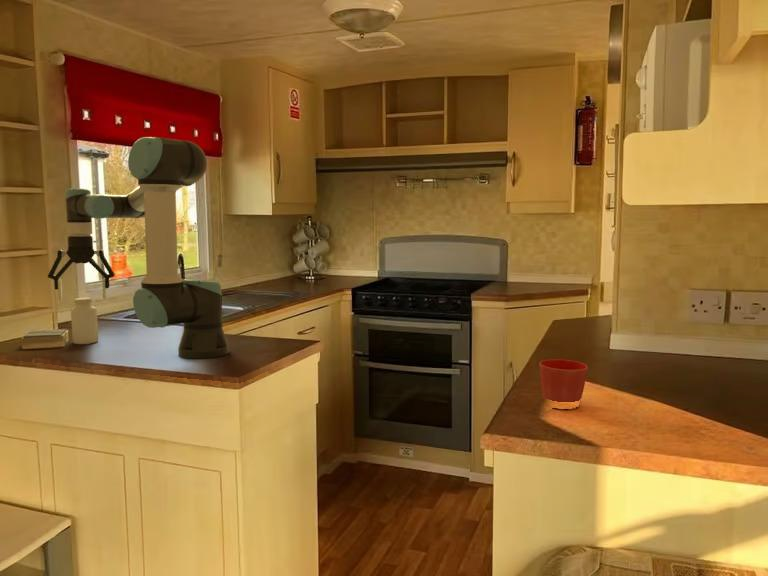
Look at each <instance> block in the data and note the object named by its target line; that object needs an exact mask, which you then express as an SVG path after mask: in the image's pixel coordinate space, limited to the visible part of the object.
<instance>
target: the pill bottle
mask: <svg viewBox="0 0 768 576" xmlns="http://www.w3.org/2000/svg"><path fill="white" fill-rule="evenodd" d="M73 300H74V302H73V303H74V306H73V307H72V308H71V310H70V317H71V319H70V321H71V335H72V336H71V337H72V343H73V344H74V345H89V344H94V343H97V342H98V341H99V328H98V327H99V325H98V311H97V307H96V306H94V305H92V304H93V303H92V301H93V300H92V297H78V298H75V299H73Z"/></svg>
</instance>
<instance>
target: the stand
mask: <svg viewBox="0 0 768 576" xmlns="http://www.w3.org/2000/svg"><path fill="white" fill-rule="evenodd" d="M69 332H70V331H69V329H67V328H57V329H55V328H54V329H39V330H38V329H37V330H36V329H35V330H32V329H31V330H29V332H27V333H26V334H25V335H23V336H22V337H21V350H29V349H44V348H45V349H48V348H49V349H50V348H62V347H65V345H66V344H67V343H68V341H69V340H70V339H69V338H70V337H69Z"/></svg>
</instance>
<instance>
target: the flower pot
mask: <svg viewBox="0 0 768 576" xmlns="http://www.w3.org/2000/svg"><path fill="white" fill-rule="evenodd" d="M538 365H539V375H540V383H541V392H542V395H543V397H544V398H546V399H549V400H552V401H557V402H575V401H579V400H580V399H581V400H582V397H583V394H584V389H585V384H586V380H587V376H588V371H589V367H588V365H587V364H586V363H584V362H580V361H577V360H569V359H561V358H560V359H559V358H558V359H555V358H554V359H545V360H541V361H540V362H539V364H538ZM544 398H543V399H544ZM572 410H573V411H574V410H575V409H568V410H567V411H572ZM560 411H565V410H564V409H560Z"/></svg>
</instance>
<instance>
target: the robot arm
mask: <svg viewBox="0 0 768 576" xmlns="http://www.w3.org/2000/svg"><path fill="white" fill-rule="evenodd" d="M127 162H128V163H127V166H128V170H129V173H130V174H131V176H132V177H133V178H135V179H137V186H138V187H136V188H135V189H134V190H132V191H131V192H129V193H127V194H126V195H125V194H122V195H121V194H101V193H99V194H98V193H96V194H95V193H94V194H92V193H91V190H90V189H89V188H70V187H69V188H67V189H66V190H65V200H64V201H65V209H66V229H67V230H66V231H67V232H66V233H67V235H69V236H68V237H67V247H68V249H67V250H62V249H59V250H57V255H56V256H57V257H56V259H54V262H53V264H52V267H51V269H50V271H49V272H48V274H47V278H48V279H51V280H53V283H54V290H55V291H56V290H57V293H58V295H57V296H58V300H60V301H61V300H62V299H63V279H60V278H61V277H62V275H63V274H65V272H66V271H67V270H68V269H69V267H71V265H72V264H73V263H74V264H77V265H78V264H87V263H89V264H90V265H91V266H92V267H93V268H94V269H95V270H96V271H97V272H98V273H99V274H100V275H101V276H102V277H103V278H102V281H101V282H102V299H106V298H107V289H109V288H110V279H111V278H114V277H115V276H116V275H115V272H114V271H113V268H112V267H111V264H110V263H109V262H108V260H107V258H106V256H105V254H104V253H105V252H104V250H103V249H99V250H95V249H94V246H93V245H94V244H93V243H94V241H93V239H94V238H93V236H92V235H93V221H92V220H93V219H96V220H97V219H141V218H144V231H145V233H144V234H145V238H144V239H145V261H146V262H145V264H146V266H145V267H146V275H145V276H144V278H143V279H142V280H141V281H140V283H141V288H139V289H137V290H136V291H135V292H134V295H133V298H132V304H133V309H134V310H133V311H134V312H135V315H136V317H137V319H138V320H139V321H140V323H141V324H142V325H143V326H145V327H147V328H150V329H155V328H163V329H164V328H165V327H170V326H171V327H172V326H176V325H183V331H182V335H181V338H180V341H179V345H178V352H177V353H178V356H179V357H181V358H183V359H184V358H185V359H195V360H196V359H197V360H198V359H210V358H211V359H212V358H219V357H222V356H226V355H228V354H229V352H230V349H229V343H228V340H227V337H226V334H225V332H224V329H223V302H222V301H223V299H222V298H223V293H222V286H221V284H220V283H219V282H217V281H213V280H201V279H186V278H184V279H183V278H182V277H181V276H179V273H178V272H179V269H178V265H179V264H178V240H177V239H178V235H177V234H178V233H177V232H178V231H177V229H178V228H177V201H176V200H177V199H176V196H177V195H176V193H177V191H178V190H180V189H182V188H184V187H190V186H193V185H194V184H196V183H197V182H199V181H200V180H201V179H202V178H203V177H204V175H205V173H206V172H207V167H208V159H207V156H206V154H205V152H204V150H203V149H202V147H200V146H199V145H198V144H196V143H194V142H192V141H189V140H180V139H172V138H166V137H159V136H158V137H157V136H153V137H152V136H142V137H140V138H138V139H137V140H136V141H135V142H134V143H133V145H132V146H131V148H130V150H129V154H128V157H127ZM66 255H67V257H68V258H69V260H68V261H66V263H65V264H64V265H63V267H61V269H60V270H59V271H58V272H57V274H55V273H56V271H57V269H58V267H59V265H60V263H61V261H62V259H63V258H64V257H65V256H66ZM94 255H96V256H97V257H99V258H100V260H101V263H102V264H103V265H104V267H105V269H106V271H105V270H104V269H103V268H102V267H101V266H100V265H99V264H98V263H97V261H96V260H95V259H94V258H93V257H94Z"/></svg>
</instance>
